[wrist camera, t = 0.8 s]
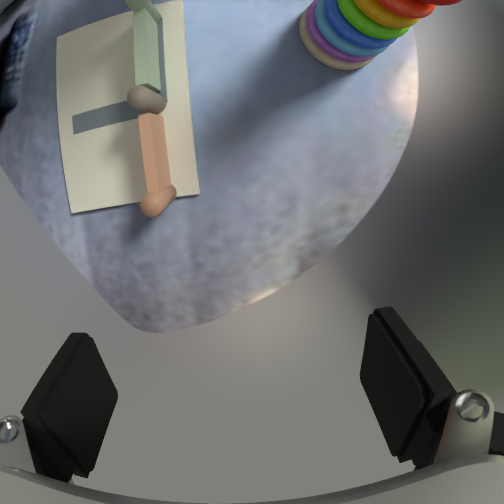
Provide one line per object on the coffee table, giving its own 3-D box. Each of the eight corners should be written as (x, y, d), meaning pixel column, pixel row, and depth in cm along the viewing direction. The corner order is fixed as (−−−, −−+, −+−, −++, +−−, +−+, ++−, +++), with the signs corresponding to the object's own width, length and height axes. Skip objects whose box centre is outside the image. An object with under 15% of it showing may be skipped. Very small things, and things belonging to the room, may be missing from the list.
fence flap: (146, 96, 24) (126, 88, 19) (165, 93, 24) (148, 82, 19) (159, 203, 28) (142, 218, 23) (177, 201, 28) (163, 215, 23)
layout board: (59, 38, 21) (56, 37, 21) (183, 1, 21) (182, -2, 21) (74, 212, 28) (71, 213, 28) (200, 192, 28) (199, 194, 28)
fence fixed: (143, 14, 21) (124, -9, 16) (161, 9, 21) (145, -14, 16) (146, 93, 24) (125, 84, 19) (165, 90, 24) (148, 79, 19)
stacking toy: (318, 81, 25) (430, 13, 7) (283, 12, 22) (337, -111, 5) (385, 62, 24) (522, 16, 7) (352, -2, 21) (449, -93, 4)
